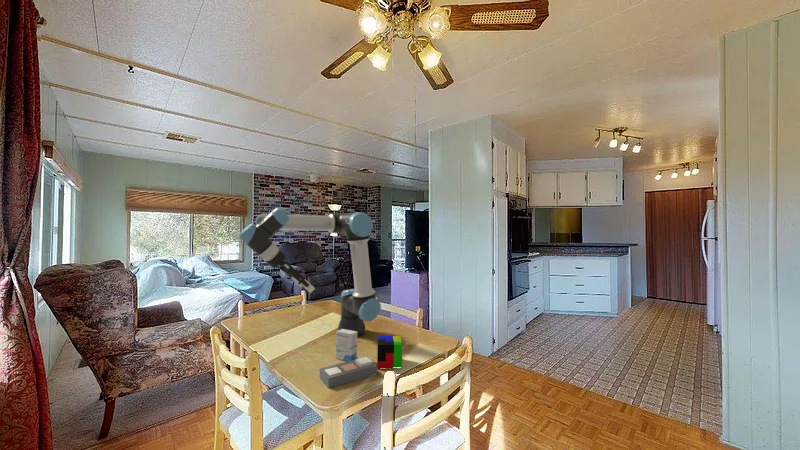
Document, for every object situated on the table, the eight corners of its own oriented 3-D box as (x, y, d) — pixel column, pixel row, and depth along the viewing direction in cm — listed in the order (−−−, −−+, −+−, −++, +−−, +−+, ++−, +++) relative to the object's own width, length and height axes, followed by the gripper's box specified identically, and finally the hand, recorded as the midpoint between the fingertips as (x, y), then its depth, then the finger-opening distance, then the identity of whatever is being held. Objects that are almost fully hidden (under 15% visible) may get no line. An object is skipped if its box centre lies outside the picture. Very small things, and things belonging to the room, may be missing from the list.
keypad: (366, 365, 131) (366, 357, 131) (377, 374, 123) (377, 365, 123) (319, 377, 120) (319, 368, 120) (328, 388, 112) (328, 378, 112)
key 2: (366, 362, 128) (366, 356, 128) (372, 367, 124) (372, 361, 124) (355, 365, 126) (355, 359, 126) (360, 370, 122) (361, 364, 122)
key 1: (336, 373, 121) (336, 366, 121) (342, 378, 117) (342, 371, 117) (324, 376, 118) (324, 369, 118) (329, 382, 114) (329, 375, 114)
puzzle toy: (377, 359, 137) (377, 336, 137) (399, 358, 138) (400, 336, 138) (377, 369, 127) (377, 344, 127) (401, 369, 128) (402, 344, 128)
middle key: (351, 369, 125) (352, 362, 125) (357, 374, 121) (357, 367, 121) (340, 372, 122) (340, 365, 122) (345, 377, 118) (345, 371, 118)
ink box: (357, 357, 138) (358, 331, 138) (351, 362, 133) (351, 334, 133) (341, 354, 141) (341, 327, 141) (334, 358, 137) (335, 331, 137)
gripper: (260, 258, 141) (293, 289, 149) (272, 265, 120) (310, 300, 128) (273, 246, 144) (305, 277, 152) (287, 251, 123) (323, 286, 131)
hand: (307, 287), depth 140 cm, fingers open, 13 cm apart
